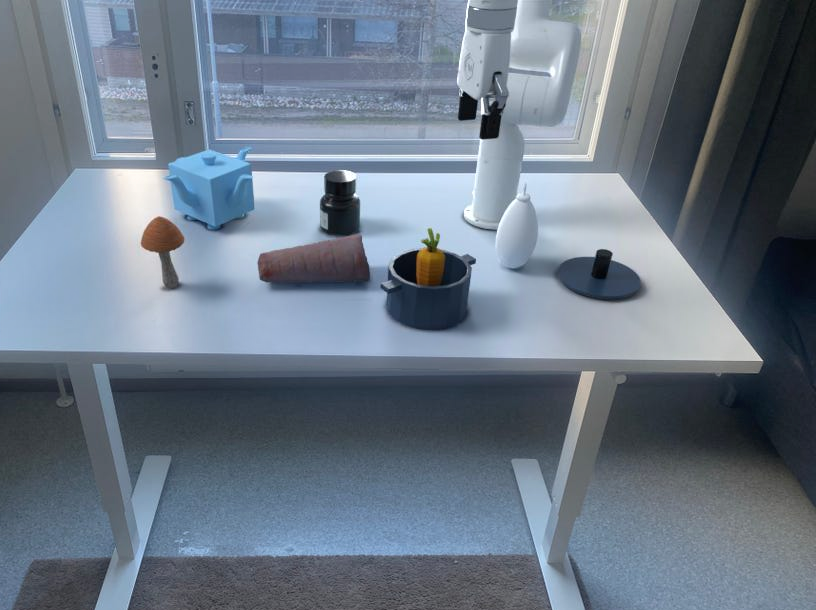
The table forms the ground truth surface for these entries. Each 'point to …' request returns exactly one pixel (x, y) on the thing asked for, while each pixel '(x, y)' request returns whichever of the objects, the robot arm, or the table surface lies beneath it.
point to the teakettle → (212, 186)
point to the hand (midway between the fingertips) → (477, 128)
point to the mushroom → (163, 246)
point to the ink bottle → (340, 204)
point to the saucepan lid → (599, 276)
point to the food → (316, 262)
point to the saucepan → (428, 291)
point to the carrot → (430, 262)
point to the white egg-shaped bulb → (517, 232)
